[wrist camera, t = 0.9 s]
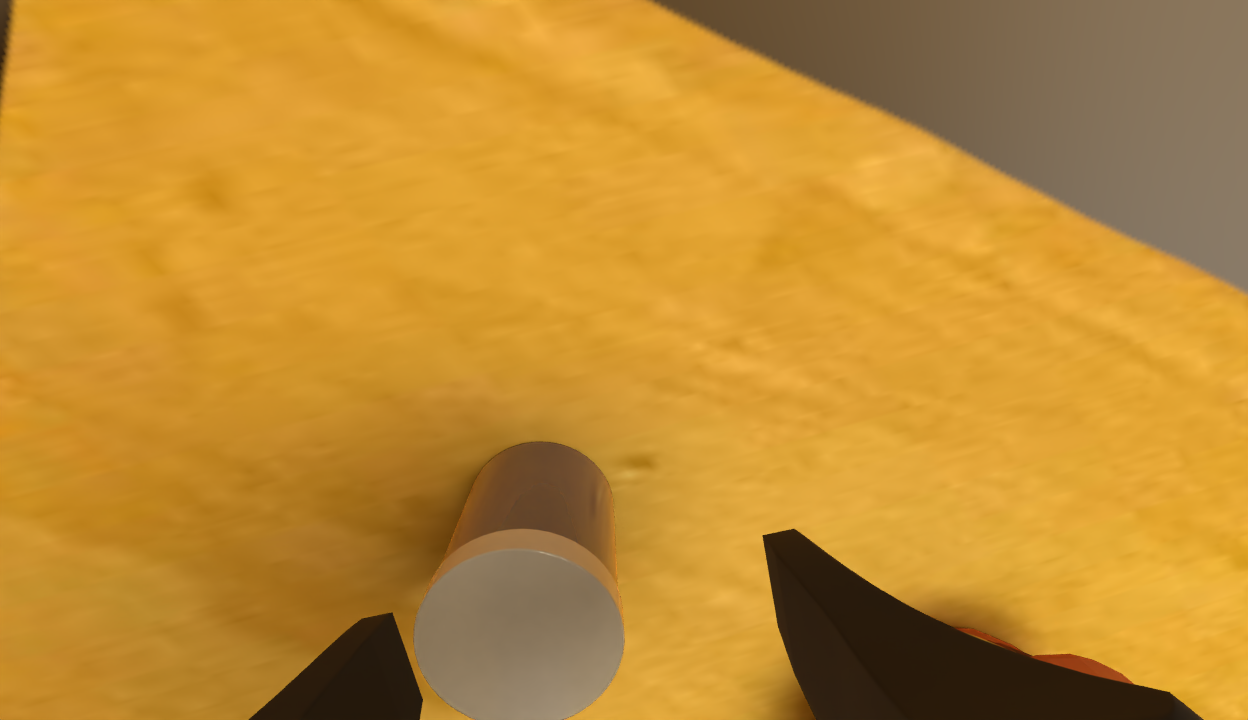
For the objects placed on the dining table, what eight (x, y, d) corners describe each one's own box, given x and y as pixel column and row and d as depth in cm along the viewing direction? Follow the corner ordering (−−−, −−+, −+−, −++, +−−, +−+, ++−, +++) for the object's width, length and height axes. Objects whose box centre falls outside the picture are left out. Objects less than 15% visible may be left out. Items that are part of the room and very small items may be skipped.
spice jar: (592, 587, 24) (591, 747, 17) (451, 553, 23) (393, 704, 17) (635, 460, 23) (651, 578, 16) (486, 420, 22) (439, 526, 16)
